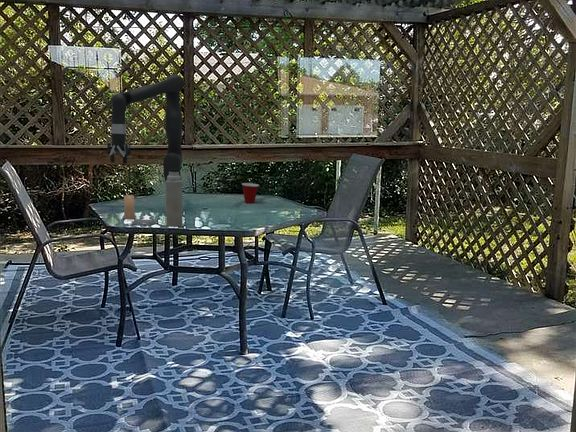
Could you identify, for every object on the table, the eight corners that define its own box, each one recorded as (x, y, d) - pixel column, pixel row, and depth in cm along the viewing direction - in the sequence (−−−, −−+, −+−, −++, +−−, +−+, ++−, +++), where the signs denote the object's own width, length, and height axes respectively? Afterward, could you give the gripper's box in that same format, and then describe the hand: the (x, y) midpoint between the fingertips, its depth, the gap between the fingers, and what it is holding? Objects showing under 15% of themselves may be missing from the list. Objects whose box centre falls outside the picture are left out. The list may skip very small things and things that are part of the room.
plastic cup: (258, 204, 379) (258, 185, 377) (240, 204, 379) (240, 184, 377) (259, 201, 390) (259, 182, 388) (242, 201, 390) (242, 182, 388)
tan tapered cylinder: (134, 217, 328) (133, 195, 326) (135, 219, 323) (134, 196, 321) (124, 217, 326) (123, 195, 324) (124, 219, 322) (124, 196, 319)
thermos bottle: (167, 223, 314) (167, 168, 309) (183, 223, 314) (183, 168, 309) (165, 226, 306) (164, 170, 301) (181, 226, 306) (180, 170, 301)
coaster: (154, 220, 321) (154, 219, 321) (157, 224, 310) (157, 223, 310) (130, 221, 317) (130, 220, 317) (132, 225, 306) (132, 224, 306)
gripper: (103, 131, 327) (103, 162, 330) (123, 133, 320) (123, 164, 323) (113, 131, 333) (113, 161, 336) (133, 133, 327) (133, 163, 330)
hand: (118, 163), depth 330 cm, fingers open, 8 cm apart
